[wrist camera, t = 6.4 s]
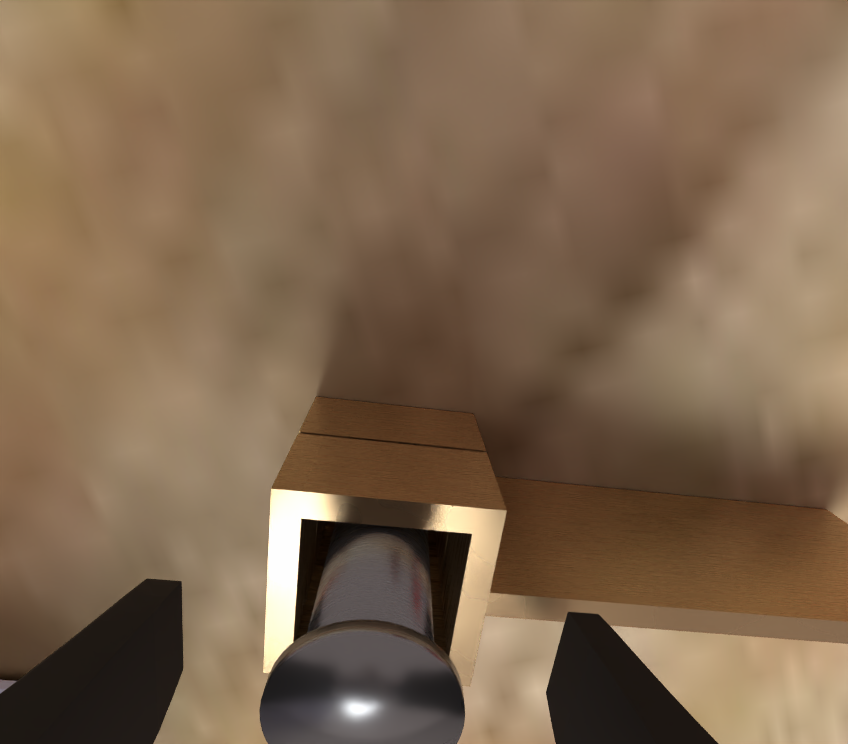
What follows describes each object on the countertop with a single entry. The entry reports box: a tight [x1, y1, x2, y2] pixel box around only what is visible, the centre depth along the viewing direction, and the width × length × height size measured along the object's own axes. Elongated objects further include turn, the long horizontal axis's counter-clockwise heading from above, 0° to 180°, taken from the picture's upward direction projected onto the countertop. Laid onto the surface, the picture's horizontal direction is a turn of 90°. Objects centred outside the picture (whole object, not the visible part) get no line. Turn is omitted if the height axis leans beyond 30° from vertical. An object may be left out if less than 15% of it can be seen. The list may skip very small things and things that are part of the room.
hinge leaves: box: [263, 397, 848, 686], centre depth 15 cm, size 17×17×5 cm
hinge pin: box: [260, 521, 465, 744], centre depth 11 cm, size 3×3×8 cm
